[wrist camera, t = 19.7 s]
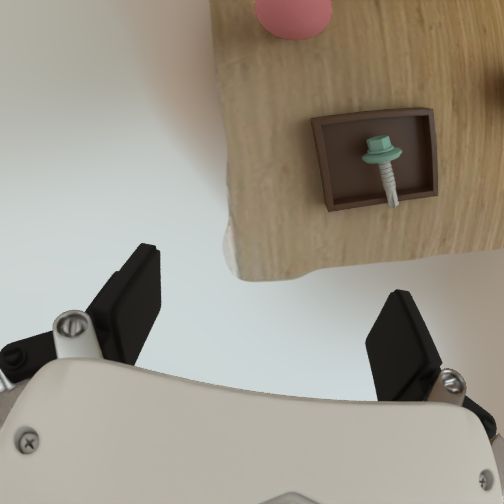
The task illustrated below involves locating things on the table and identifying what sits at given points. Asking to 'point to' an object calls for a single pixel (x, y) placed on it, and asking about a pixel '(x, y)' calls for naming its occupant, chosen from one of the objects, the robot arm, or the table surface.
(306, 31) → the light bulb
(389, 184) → the screw
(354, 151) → the tray
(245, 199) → the table surface
